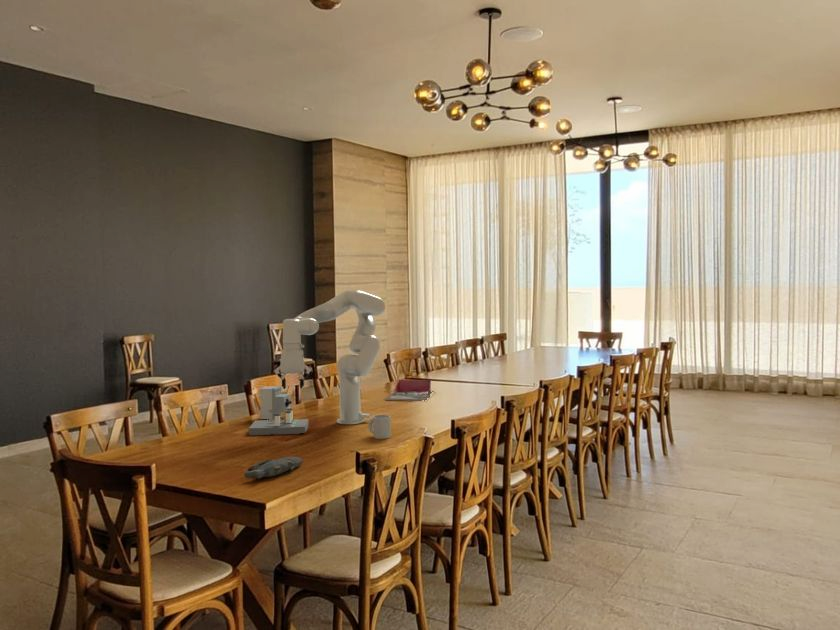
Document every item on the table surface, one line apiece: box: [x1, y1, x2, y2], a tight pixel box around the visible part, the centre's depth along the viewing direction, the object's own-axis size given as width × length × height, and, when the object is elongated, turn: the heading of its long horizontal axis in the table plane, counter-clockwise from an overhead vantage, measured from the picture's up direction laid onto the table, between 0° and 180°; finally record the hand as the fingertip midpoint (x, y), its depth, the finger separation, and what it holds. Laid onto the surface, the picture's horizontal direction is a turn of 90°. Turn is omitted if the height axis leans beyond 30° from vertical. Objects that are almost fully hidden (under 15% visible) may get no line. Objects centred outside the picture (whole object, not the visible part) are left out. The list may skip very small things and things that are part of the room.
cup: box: [368, 414, 392, 440], centre depth 294 cm, size 7×10×9 cm
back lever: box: [287, 407, 294, 420], centre depth 317 cm, size 2×3×5 cm
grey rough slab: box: [244, 456, 303, 479], centre depth 241 cm, size 5×25×15 cm
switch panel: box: [248, 418, 309, 436], centre depth 311 cm, size 24×17×3 cm
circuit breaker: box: [258, 385, 292, 420], centre depth 338 cm, size 8×14×15 cm, turn 78°
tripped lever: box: [274, 413, 281, 426], centre depth 304 cm, size 2×3×5 cm
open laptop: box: [383, 379, 435, 402], centre depth 399 cm, size 24×35×8 cm
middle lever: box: [284, 410, 291, 423], centre depth 311 cm, size 2×3×5 cm
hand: (293, 387), depth 304 cm, fingers open, 6 cm apart
